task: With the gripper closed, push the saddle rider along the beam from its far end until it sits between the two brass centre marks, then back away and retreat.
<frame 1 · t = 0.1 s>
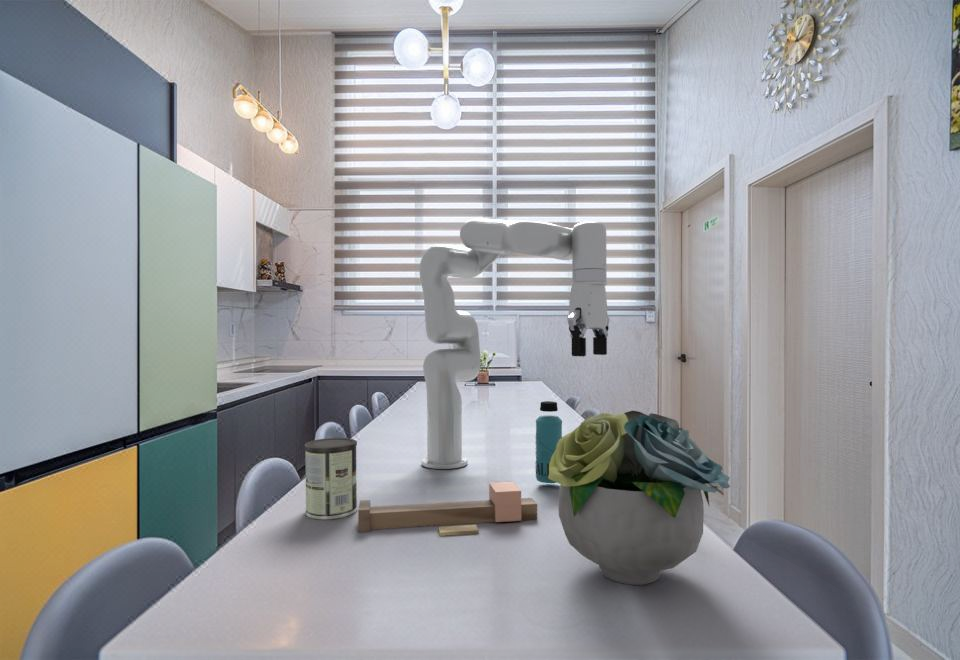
hand: (589, 355, 125), 31 cm above the table, tool pointing down, fingers open, 9 cm apart
rider: (504, 501, 110), point 3 cm above the table, slide at 10.0 cm
beverage bottle: (549, 487, 132), on the table
flower arrangement: (628, 575, 84), on the table
beam: (454, 520, 108), on the table
coffee can: (331, 512, 114), on the table
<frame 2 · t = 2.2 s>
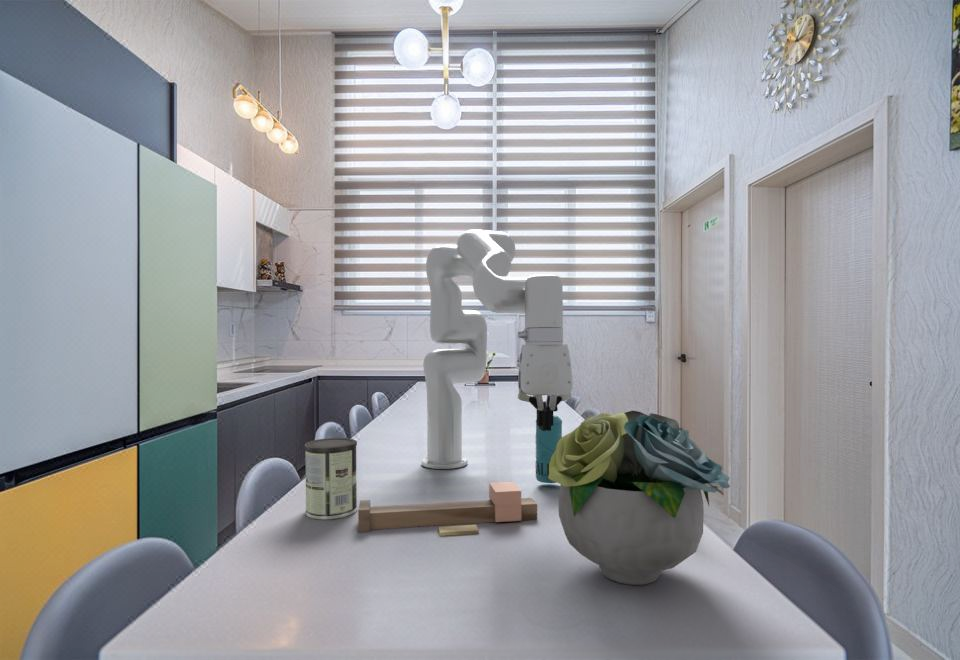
hand: (545, 429, 111), 17 cm above the table, tool pointing down, fingers closed
nothing on the table moved.
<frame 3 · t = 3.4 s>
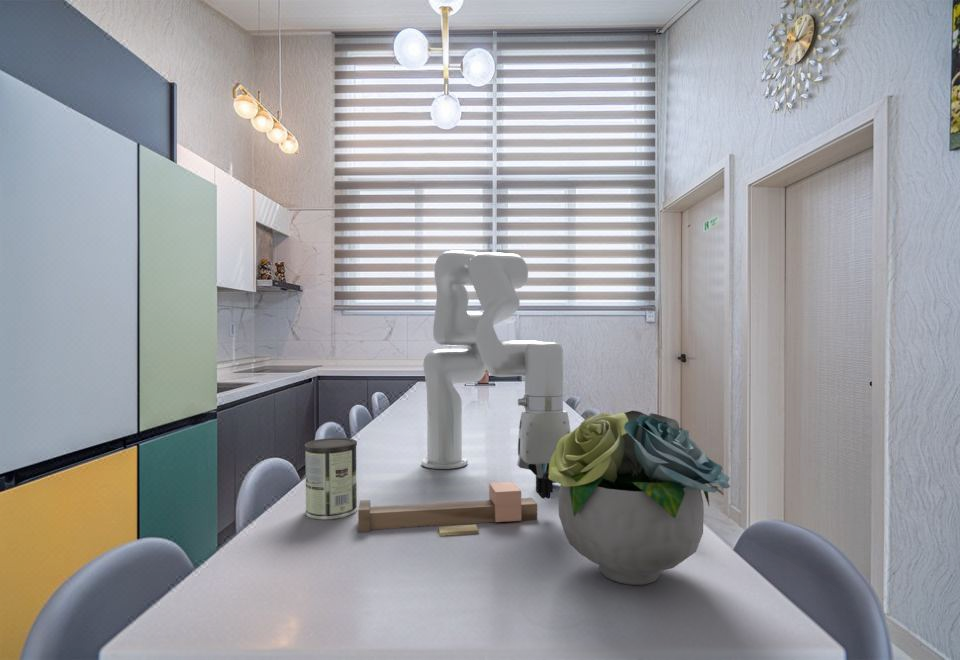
hand: (544, 496, 111), 4 cm above the table, tool pointing down, fingers closed
nothing on the table moved.
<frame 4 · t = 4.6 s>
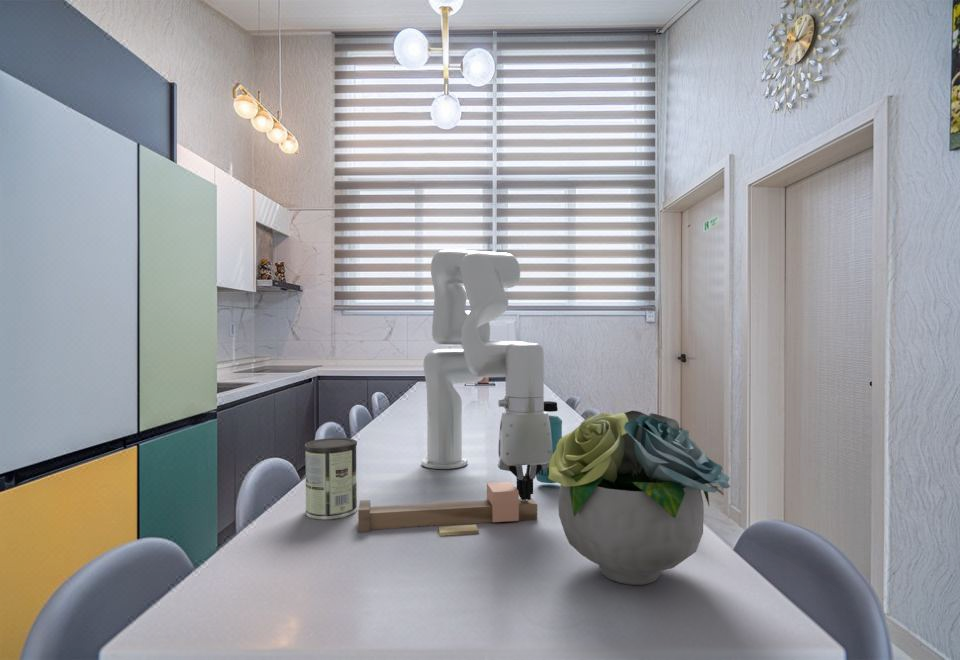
hand: (524, 497, 111), 4 cm above the table, tool pointing down, fingers closed
rider: (502, 501, 110), point 3 cm above the table, slide at 9.5 cm, touching gripper
everything else where it was.
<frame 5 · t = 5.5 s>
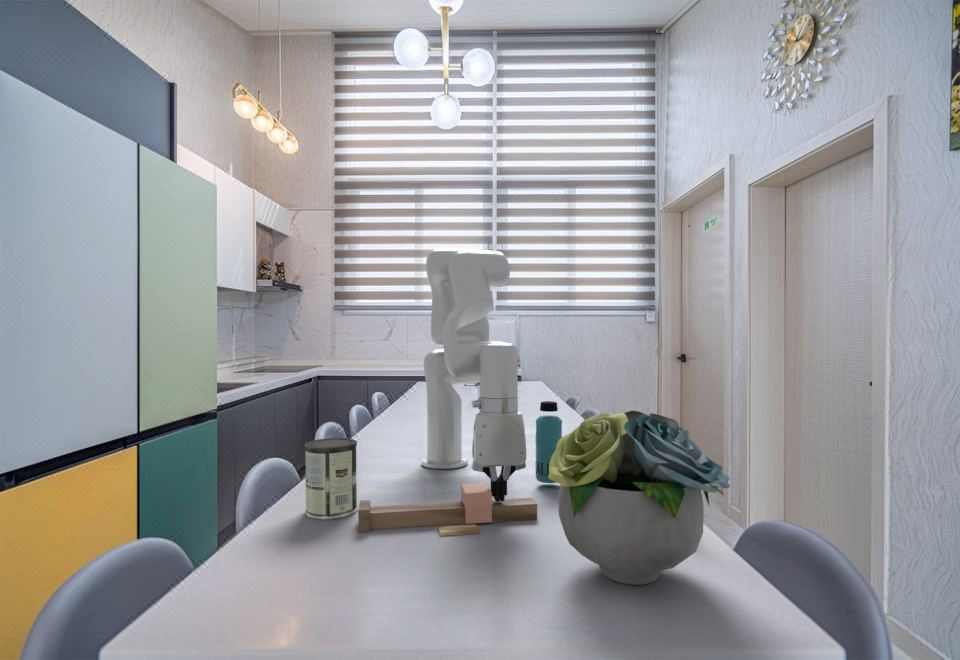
hand: (498, 499, 110), 4 cm above the table, tool pointing down, fingers closed
rider: (475, 502, 109), point 3 cm above the table, slide at 4.2 cm, touching gripper
everything else where it was.
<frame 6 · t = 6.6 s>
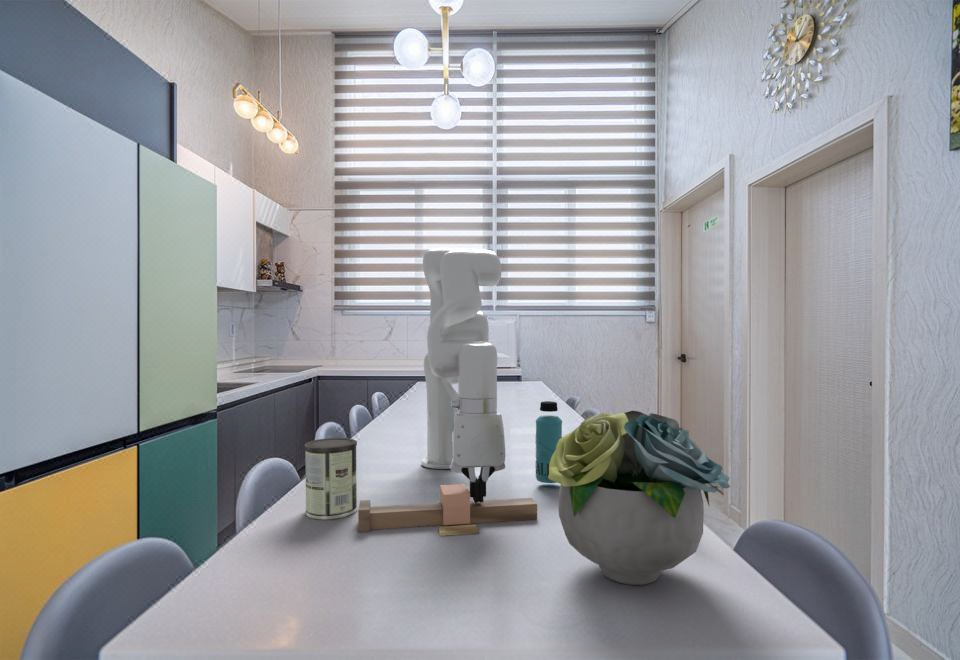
hand: (477, 500, 109), 4 cm above the table, tool pointing down, fingers closed
rider: (454, 503, 108), point 3 cm above the table, slide at 0.1 cm, touching gripper
everything else where it was.
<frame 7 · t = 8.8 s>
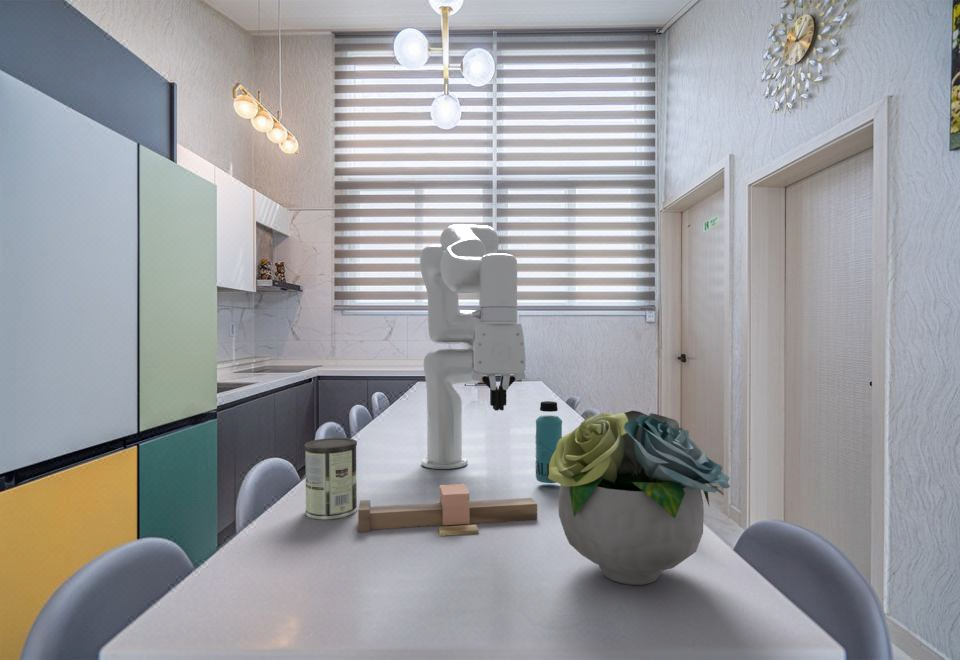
hand: (498, 409, 111), 21 cm above the table, tool pointing down, fingers closed
rider: (454, 503, 108), point 3 cm above the table, slide at 0.0 cm
everything else where it was.
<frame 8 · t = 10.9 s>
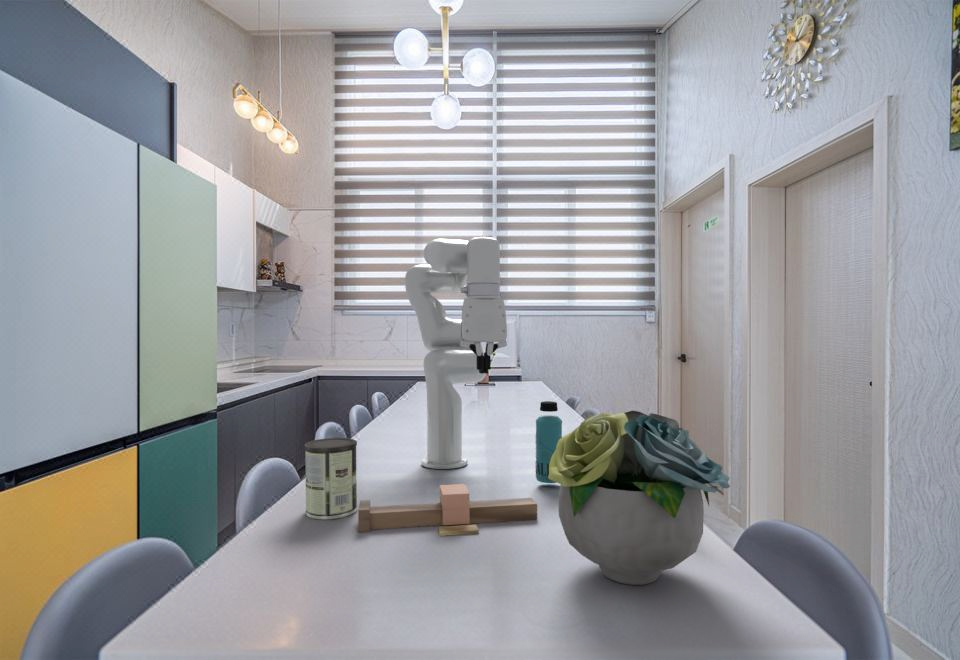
hand: (483, 372, 127), 27 cm above the table, tool pointing down, fingers closed
nothing on the table moved.
at the end: rider slide at 0.0 cm; rider inside the target area (0.0 cm from its centre), on the table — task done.
